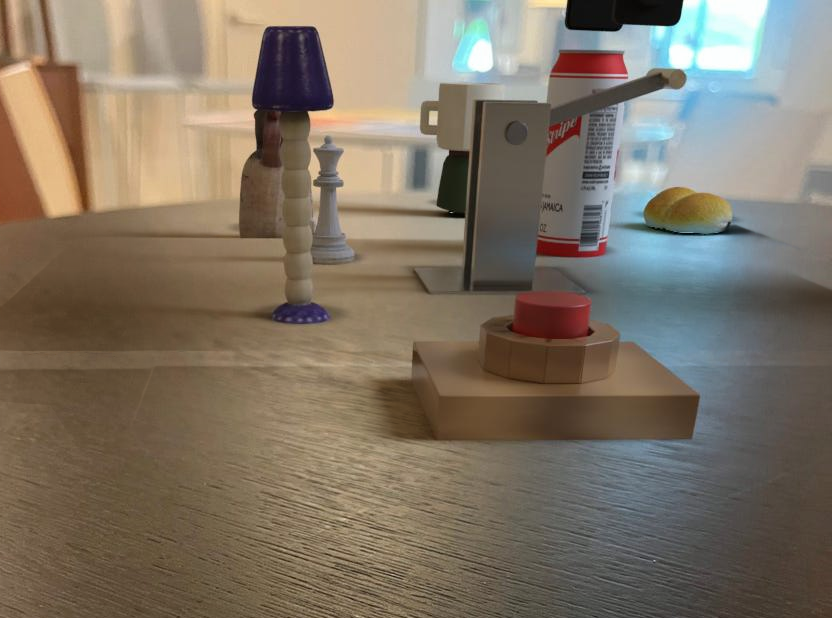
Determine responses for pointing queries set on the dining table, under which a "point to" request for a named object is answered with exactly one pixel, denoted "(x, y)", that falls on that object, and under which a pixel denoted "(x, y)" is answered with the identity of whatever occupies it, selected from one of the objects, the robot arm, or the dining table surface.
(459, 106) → the character mug
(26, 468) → the dining table surface
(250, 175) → the figurine
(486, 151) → the switch bracket
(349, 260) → the chess piece
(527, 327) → the timer button
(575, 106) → the switch lever
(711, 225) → the bread roll
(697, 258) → the dining table surface
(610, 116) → the beer can
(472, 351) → the button base
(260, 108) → the toy lamp
